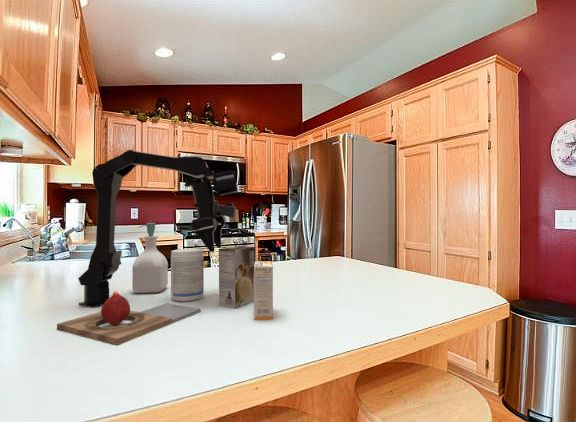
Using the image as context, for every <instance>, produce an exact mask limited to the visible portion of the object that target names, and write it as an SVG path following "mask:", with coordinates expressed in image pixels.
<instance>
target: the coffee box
mask: <svg viewBox="0 0 576 422" xmlns="http://www.w3.org/2000/svg"><path fill="white" fill-rule="evenodd" d="M255 262H256V247H255V246H248V245H247V246H243V245H238V246H230V247H222V248H221V247H220V248H218V306H221V307H226V308H231V309H238V308H240V307H243V306H246V305H248V304H251V303H254V264H255Z"/></svg>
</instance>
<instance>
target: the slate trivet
mask: <svg viewBox="0 0 576 422" xmlns="http://www.w3.org/2000/svg"><path fill="white" fill-rule="evenodd" d="M201 311H202V309H201V308H199V307H198V308H197V307H192V306H186V305H180V304H173V303H168V302H166V303H164V304H160V305H157V306H154V307H151V308H147V309H144V310H141V311H140V312H141V313H147V314H152V315H157V316H163V317H168V318H172V323H171V324H174V323H176V322H179V321H181V320H184V319H186V318H188V317H191V316H194V315H196V314H198V313H201Z"/></svg>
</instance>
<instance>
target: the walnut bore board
mask: <svg viewBox="0 0 576 422" xmlns="http://www.w3.org/2000/svg"><path fill="white" fill-rule="evenodd" d="M129 320H130V322H128V323H126V324H125V323H124V324H122V325H118V326H115V327H114V326H101V325H104V324H108V323H107V322H106V321H105V320H104V319H103V318H102V315H101V311H97V312H94V313H91V314H87V315H83V316H81V317H77V318H76V317H75V318H72V319H70V320H66V321H63V322H59V323H56V330H58V331H61V332H65V333H70V334H74V335H78V336H80V337H84V338H85V337H86V338H89V339H92V340H97V341H100V342H104V343H108V344H111V345H116V346H118V345H120V344H121V345H122V344H124V343H127V342H129V341H132V340H133V339H134V340H135V339H136V338H139V337H142V336H144V335H147V334H149V333H151V332H153V331H156V330H159V329H161V328H163V327H166V326H168V325H171V324H173V323H172V318H168V317H163V316H157V315H152V314H147V313H141V311H135V310H131V309H130V313H129V315H128V317H127V318H126V319H125V320H124V321H129Z"/></svg>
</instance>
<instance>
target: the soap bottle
mask: <svg viewBox="0 0 576 422" xmlns="http://www.w3.org/2000/svg"><path fill="white" fill-rule="evenodd" d="M142 227H146V232H147V235H145V236H143V239H144V240H145V249H144V250H143V252H141V253H140V254H139V255H138V256H137V257H136V258H135V259H134V261H133V264H132V274H131V275H132V281H131V283H132V284H131V285H132V291H133V292H134V293H135V294H153V293H154V294H156V293H157V294H158V293H160V292H162V291H163V290H164V289H165V288H166V287H167V286H168V284H169V283H168V282H169V281H168V280H169V278H168V277H169V274H168V273H169V272H168V271H169V270H168V269H169V268H168V267H169V262H168V260H167V258H166V256H165V255H164V254H163V253H162V252H160V251H159V250H158V248H157V239H158V238H159V236H158V235H154V234H155V229H156V223H155V222H147V223H146V224H143V225H139V227H138V228H139V229H140V228H142Z"/></svg>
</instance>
